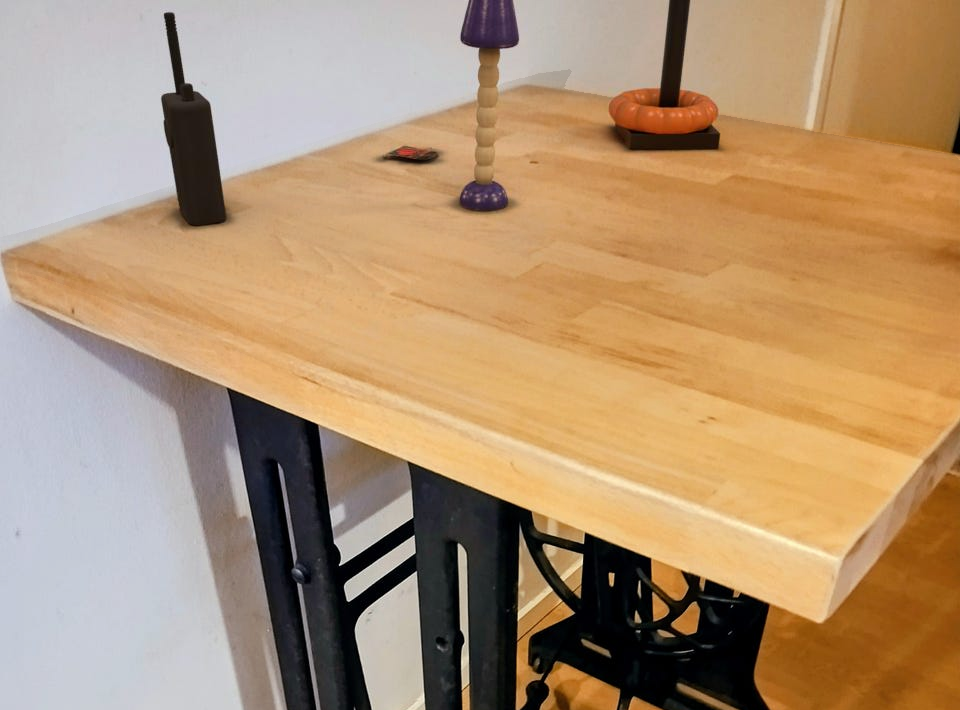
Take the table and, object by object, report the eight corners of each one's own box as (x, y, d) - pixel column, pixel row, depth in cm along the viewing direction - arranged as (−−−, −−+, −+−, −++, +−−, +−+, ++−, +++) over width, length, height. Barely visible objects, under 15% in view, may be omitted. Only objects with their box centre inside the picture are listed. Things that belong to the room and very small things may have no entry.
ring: (701, 109, 109) (704, 85, 108) (726, 136, 101) (730, 110, 99) (601, 110, 109) (603, 86, 107) (618, 137, 100) (620, 111, 99)
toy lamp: (516, 197, 90) (522, -19, 80) (512, 214, 86) (518, -10, 76) (462, 195, 90) (461, -20, 80) (456, 212, 86) (454, -12, 76)
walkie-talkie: (228, 221, 84) (200, 18, 75) (187, 227, 83) (153, 21, 74) (214, 204, 87) (185, 8, 78) (174, 210, 86) (140, 11, 77)
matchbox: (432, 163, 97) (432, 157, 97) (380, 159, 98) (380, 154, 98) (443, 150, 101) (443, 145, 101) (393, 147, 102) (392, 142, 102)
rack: (697, 126, 110) (715, -17, 102) (718, 149, 103) (739, -3, 95) (614, 126, 109) (626, -17, 101) (629, 150, 102) (643, -3, 94)
